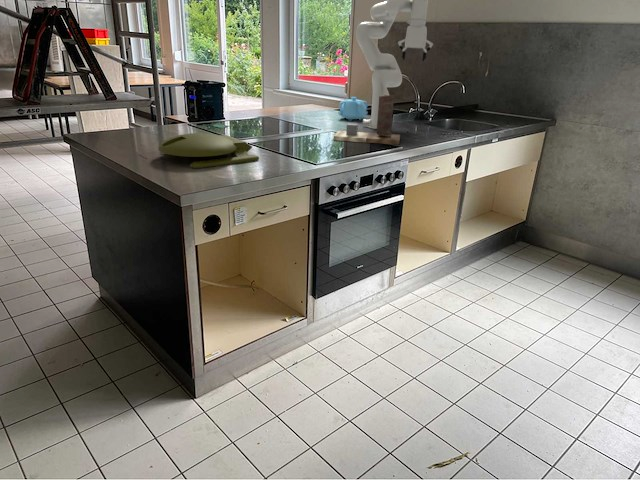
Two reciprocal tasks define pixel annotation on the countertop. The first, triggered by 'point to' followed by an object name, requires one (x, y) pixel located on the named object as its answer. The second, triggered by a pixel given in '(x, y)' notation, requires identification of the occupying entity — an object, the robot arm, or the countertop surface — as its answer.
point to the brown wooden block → (385, 115)
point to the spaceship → (208, 149)
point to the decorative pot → (353, 109)
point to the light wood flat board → (367, 138)
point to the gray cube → (352, 129)
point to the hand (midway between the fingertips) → (413, 60)
